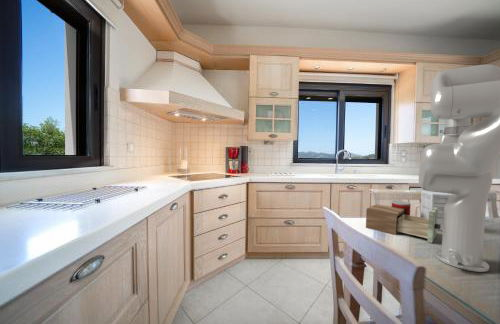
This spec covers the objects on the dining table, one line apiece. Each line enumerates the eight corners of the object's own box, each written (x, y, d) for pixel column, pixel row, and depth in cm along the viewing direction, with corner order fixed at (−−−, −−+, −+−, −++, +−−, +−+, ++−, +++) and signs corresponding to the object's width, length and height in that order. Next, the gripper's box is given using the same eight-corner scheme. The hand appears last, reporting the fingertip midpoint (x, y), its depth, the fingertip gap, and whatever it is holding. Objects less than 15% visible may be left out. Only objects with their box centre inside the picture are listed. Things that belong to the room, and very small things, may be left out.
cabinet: (395, 234, 93) (396, 214, 93) (365, 227, 102) (366, 208, 102) (403, 227, 103) (404, 208, 103) (375, 221, 112) (376, 204, 111)
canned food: (403, 221, 112) (404, 200, 112) (413, 226, 104) (414, 204, 104) (387, 220, 113) (388, 200, 112) (396, 226, 105) (397, 203, 105)
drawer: (437, 244, 84) (439, 214, 83) (395, 233, 94) (397, 207, 93) (441, 235, 93) (442, 208, 93) (403, 226, 103) (404, 202, 102)
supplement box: (454, 231, 98) (456, 195, 98) (430, 230, 100) (432, 194, 100) (440, 225, 108) (442, 191, 107) (419, 223, 110) (421, 190, 109)
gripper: (428, 132, 90) (425, 173, 91) (489, 130, 79) (486, 177, 80) (429, 133, 96) (427, 172, 97) (487, 131, 84) (484, 175, 85)
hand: (453, 174), depth 88 cm, fingers open, 9 cm apart
